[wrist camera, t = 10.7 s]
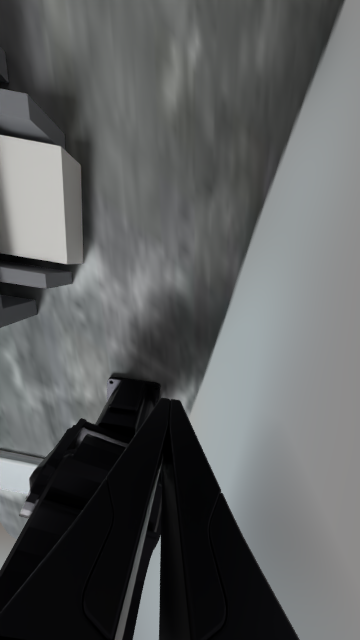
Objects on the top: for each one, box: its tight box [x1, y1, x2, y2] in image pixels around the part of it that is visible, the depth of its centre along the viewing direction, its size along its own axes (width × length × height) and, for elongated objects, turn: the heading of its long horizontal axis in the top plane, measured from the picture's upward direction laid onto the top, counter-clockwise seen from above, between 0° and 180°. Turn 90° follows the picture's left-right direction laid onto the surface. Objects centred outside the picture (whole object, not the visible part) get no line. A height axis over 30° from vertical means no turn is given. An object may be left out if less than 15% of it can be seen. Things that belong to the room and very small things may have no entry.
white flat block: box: [0, 135, 83, 264], centre depth 14 cm, size 8×10×2 cm
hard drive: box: [0, 450, 44, 494], centre depth 28 cm, size 2×8×12 cm
